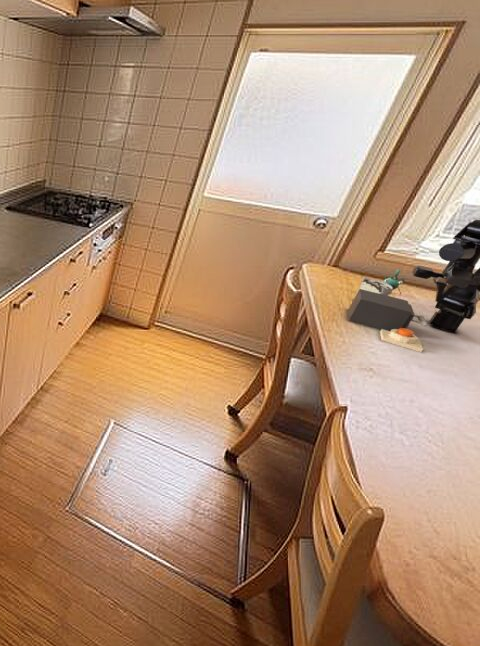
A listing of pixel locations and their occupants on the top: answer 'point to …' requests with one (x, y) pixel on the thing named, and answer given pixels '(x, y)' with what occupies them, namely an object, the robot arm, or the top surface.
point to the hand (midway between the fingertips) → (437, 301)
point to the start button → (405, 332)
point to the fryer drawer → (420, 317)
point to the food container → (375, 286)
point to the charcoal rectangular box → (378, 311)
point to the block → (401, 339)
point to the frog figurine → (394, 281)
